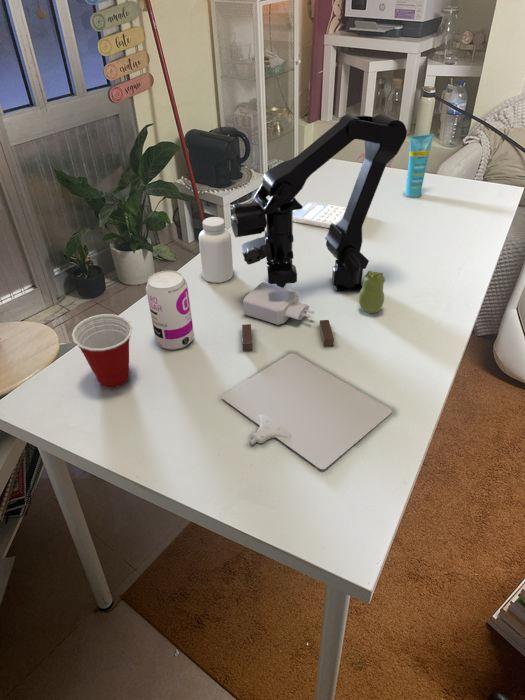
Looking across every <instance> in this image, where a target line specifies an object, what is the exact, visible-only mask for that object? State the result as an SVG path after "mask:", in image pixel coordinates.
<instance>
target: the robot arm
mask: <svg viewBox="0 0 525 700" xmlns="http://www.w3.org/2000/svg"><path fill="white" fill-rule="evenodd" d="M407 135H408V129H407V127H406V125H405V123H404V122H403V121H401V120H399V119H397V118H395V117H393V116H391V115H389V114H387V113H383V112H382V113H378V114H376V115H375V116H372V115H371V116H370V115H354V114H350V113H348V114H345V115H342V116H341V118H339V121H337V122H336V123H335V124H334V125H332V127H330V128H329V129H328V130H327V131H325V132H324V133H323V134H322V135H321V136H319V137H318V138H317V139H316V140H315V141H313V142H312V143H311V144H310V145H308V146H307V147H306V148H305V149H304V150H302V151H301V152H300V153H299V154H298V155H296V156H295V157H293V158H291V159H288V160H286V161H282V162H280V163H278V164H276V165H274V166H273V167H272V168H269V169H268V170H266V172H264V174H263V177H262V182H261V184H260V185H259V188H258V189H257V191H256V193H255V195H254V196H253V197H252V200H253V202H247V203H233V205H232V210H231V215H230V225H231V230H232V234H233V236H234V237H235V238H242V237H248V236H253V235H259V234H260V235H261V234H262V233H264V236H262V237H257V238H254V239H252V240H249V241H246V242H244V243H243V244H241V254H242V256H243V258H244V262H246V264H247V265H253V264H256V263H258V262H260V261H262V260H264V259H265V261H266V265H267V266H266V270H267V283H268V284H272V285H275V286H279V287H283V288H285V287H286V285H287V284H296V283H298V271H297V267H296V265H294V264H293V260H294V251H293V243H294V233H293V231H294V230H293V225H294V224H293V223H294V221H293V212H294V211H295V210H298V209H302V204H301V203H300V202H299V201H298V199H296V196H297V195H298V194H299V193H300V192H301V191H302V190H303V188H304V186H305V184H306V182H307V180H308V179H309V178H310V177H311V176H312V175H313V174H314V173H315V172H317V170H319V169H320V168H321V167H323V166H324V165H325V164H326V163H327V162H329V161H330V160H331V159H332V158H333V157H335V156H336V155H338V154H339V153H340V152H341V151H342V150H343V149H344V148H346V147H347V146H348V145H350V144H351V143H352V142H353V141H355V140H359V141H364V159H363V162H362V164H361V167H360V170H359V172H358V175H357V178H356V180H355V183H354V186H353V189H352V192H351V194H350V197H349V199H348V203H347V205H346V207H345V208H346V210H345V213H344V216H343V218H342V220H341V221H340V222H338V223H337V224H336V225H335V224H333V223H331V225H330V228H328V233H327V234H326V236H325V237H324V239H325V241H326V242H325V247H326V248H327V250H328V252H330V254H331V255H332V256H333V257H334V258H335V260H334V261H335V262H334V265H333V266H332V273H331V282H332V285H333V286H334V289H335V292H338V293H340V292H341V293H342V292H356V291H357V292H360V291H361V289H362V287H363V275H364V274H363V273H364V270H366V269H367V267H368V264H369V262H370V260H369V258H367V257H366V256H365V255H364V254H363V253H362V252H361V251H362V250H361V249H362V245H363V225H364V223H365V220H366V217H367V216H368V213H369V210H370V207H371V206H372V202H373V200H374V198H375V194H376V192H377V189H378V187H379V184H380V182H381V179H382V176H383V174H384V173H385V172H384V171H385V170H386V167H387V165H388V164H389V163H390V162H391V161H392V160H393V159H394V158H395V157H396V156H397V155H398V153H399V152H400V150H401V148H402V147H403V144H404V143H405V141H406V139H407ZM267 197H270V198H269V199H268V198H267Z"/></svg>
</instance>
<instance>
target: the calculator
mask: <svg viewBox="0 0 525 700" xmlns="http://www.w3.org/2000/svg"><path fill="white" fill-rule="evenodd" d="M301 205H302V209H298V210H293V223H299V224H304V225H310V226H316V227H321V228H326V229H329V228H330V225H331V223H333V224H335V225H336V224H337V223H338V222H340V221H341V220H342V218H343V216H344V213H345V210H346V208H347V207H345V206H344V207H343V206H338V205H333V204H327V203H320V202H316V201H315V202H314V201H304V202H303V203H302V204H301Z"/></svg>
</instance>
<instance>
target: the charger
mask: <svg viewBox="0 0 525 700" xmlns="http://www.w3.org/2000/svg"><path fill="white" fill-rule="evenodd" d="M299 299H300V296H299V293H298V291H297V290H293V289H289V288H286V287H284V288H283V287H279V286H277V285H276V284H270V283H268V282H264V281H262V282H260V283H259V284H258V285H257V286H256V287H254V288H253V289H252V290H251V291H250V292H249V293H248V294H246V295H245V297H244V298H243V301H242V303H243V314H244V315H245V316H249V317H251V318H255V319H258V320H261V321H265V322H268V323H270V324H271V323H272V324H274V325H277V326H278V325H282V324H285V323H286V322H287V321H288V320H289V319H290V318H291V319H294V320H297V321H300V320H303V318H304V317H306V318H311V317H312V315H310V314H315V311H312V310H310V305H308V304H304V303H301V302H299V301H300V300H299ZM307 313H309V314H307Z"/></svg>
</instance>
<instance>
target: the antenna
mask: <svg viewBox="0 0 525 700" xmlns="http://www.w3.org/2000/svg"><path fill="white" fill-rule="evenodd" d="M221 399H222V400H223V401H224V402H226V403H227V404H229V405H230V406H231V407H233V408H234V409H236V410H237V411H238V412H240V413H241V414H243V415H244V416H245V417H247V418H248V419H250V420H251V421H252V422H253V423H255V424H256V425H258V428H257V430H255V431H254V432H253V433H252V434H251V437H252V439H250V440H249V444H250V445H251V446H253V445H255V444H256V443H258V444H263V443H265V442H267V441H268V440H271V439H277V440H279V441H280V442H281V443H283V444H285V445H286V446H287V447H288V448H290V449H291V450H292V451H294V452H295V453H296V454H298V455H299V456H301V457H302V458H303V459H305V460H306V461H308V462H309V463H310V464H312V465H313V466H315V467H316V468H318V470H326V469H327V468H328V467H330V466H331V465H332V464H333V463H334V462H335V461H337V460H338V459H339V458H340V457H341V456H343V454H345V453H346V452H347V451H348V450H350V449H351V448H352V447H353V446H354V445H356V444H357V443H358V442H359V441H361V440H362V439H363V438H364V437H365V436H366V435H368V433H370V432H371V431H372V430H373V429H375V428H376V427H377V426H378V425H380V424H381V423H382V422H383V421H384V420H386V418H387V417H389V416H390V415H391V414H392V413H393V411H392V409H391V408H389V407H388V406H387V405H384V404H382V403H381V402H379V401H377V400H376V399H374V398H372V397H370V396H369V395H367V394H366V393H364V392H362V391H361V390H358V389H357V388H355V387H353V386H351V385H350V384H348V383H346V382H345V381H342V380H341V379H339V378H338V377H335V376H334V375H333V374H331V373H329V372H327V371H325V370H323V369H321V368H320V367H318V366H317V365H315V364H313V363H311V362H310V361H307V359H304V358H303V357H301V356H299V355H298V354H296V353H294V352H293V353H291V352H290V353H289V354H287V355H285V356H283V357H282V358H281V359H279V360H277V361H275V362H274V363H272V364H271V365H269V366H267V367H266V368H264V369H263V370H261V371H260V372H258V373H256V374H255V375H253V376H251V377H250V378H248V379H247V380H245V381H243V382H242V383H241V384H240V383H239V384H238V385H237V386H235V387H234V388H232V389H230V390H229V391H227V392H225V393H224V394H223V395H222V396H221Z"/></svg>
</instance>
